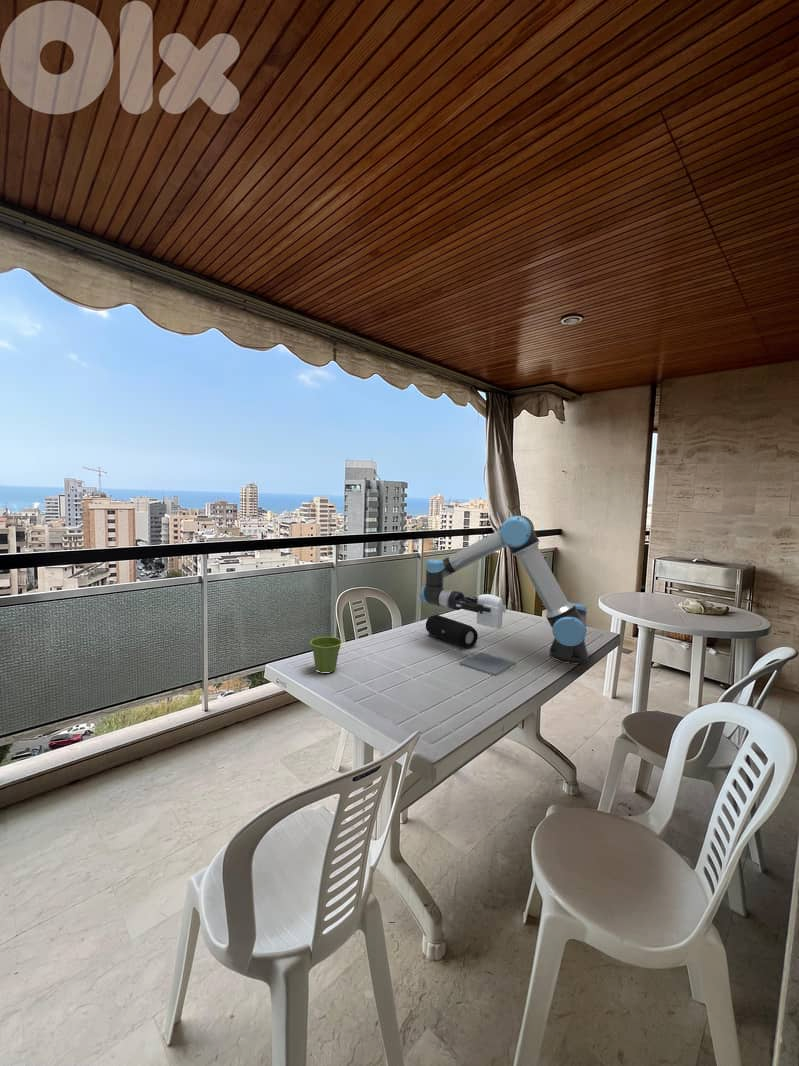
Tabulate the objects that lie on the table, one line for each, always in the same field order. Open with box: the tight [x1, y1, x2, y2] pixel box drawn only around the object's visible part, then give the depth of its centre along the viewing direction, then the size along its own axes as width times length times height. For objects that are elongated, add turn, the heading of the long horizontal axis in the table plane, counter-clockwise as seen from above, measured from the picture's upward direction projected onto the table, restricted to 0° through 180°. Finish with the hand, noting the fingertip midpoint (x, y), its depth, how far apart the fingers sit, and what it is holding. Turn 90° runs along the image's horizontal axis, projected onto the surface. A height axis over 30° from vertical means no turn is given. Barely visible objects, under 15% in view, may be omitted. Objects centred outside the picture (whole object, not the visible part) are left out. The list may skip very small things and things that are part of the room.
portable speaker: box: [425, 614, 479, 649], centre depth 200 cm, size 26×10×10 cm, turn 38°
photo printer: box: [476, 593, 504, 630], centre depth 171 cm, size 10×4×12 cm, turn 51°
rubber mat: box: [459, 652, 517, 677], centre depth 173 cm, size 16×16×1 cm
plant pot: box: [309, 636, 343, 672], centre depth 163 cm, size 12×12×11 cm
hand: (502, 610), depth 167 cm, fingers closed on photo printer, 4 cm apart
